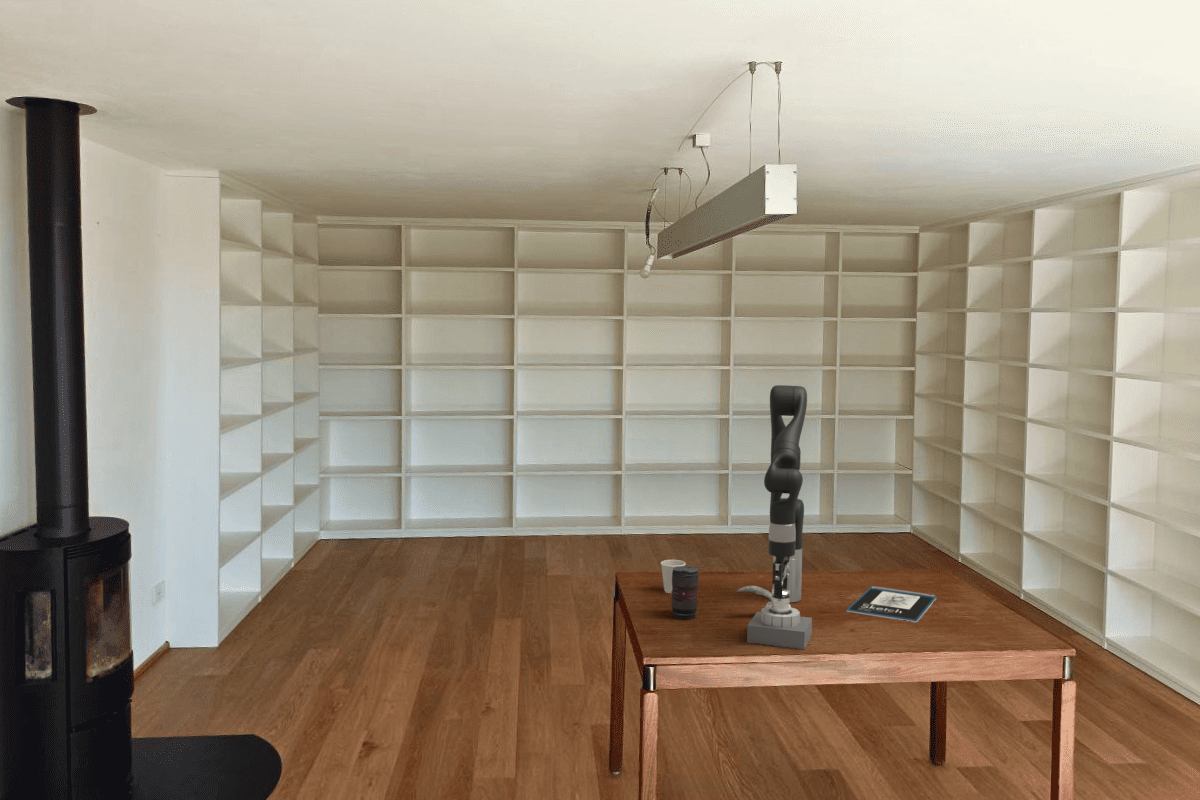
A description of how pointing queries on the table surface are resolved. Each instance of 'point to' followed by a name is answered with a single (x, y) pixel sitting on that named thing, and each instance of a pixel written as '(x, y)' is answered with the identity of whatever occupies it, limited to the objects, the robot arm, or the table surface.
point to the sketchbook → (892, 604)
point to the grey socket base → (780, 629)
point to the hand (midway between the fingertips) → (780, 593)
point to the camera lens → (684, 592)
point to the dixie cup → (669, 572)
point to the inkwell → (758, 592)
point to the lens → (780, 603)
